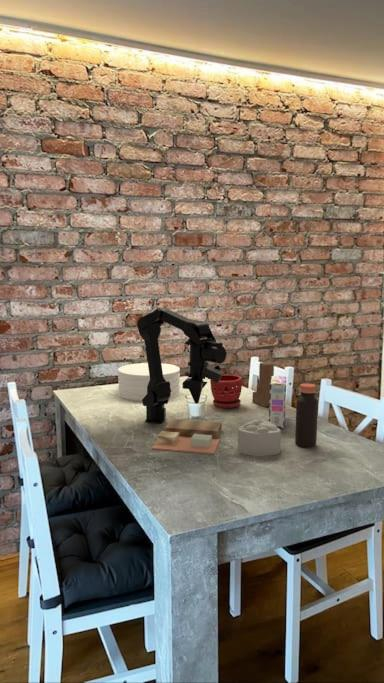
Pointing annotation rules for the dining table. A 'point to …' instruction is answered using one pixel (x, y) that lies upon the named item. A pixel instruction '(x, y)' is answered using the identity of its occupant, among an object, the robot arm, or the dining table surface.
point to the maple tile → (168, 438)
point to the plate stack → (145, 380)
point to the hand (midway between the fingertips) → (196, 403)
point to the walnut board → (194, 428)
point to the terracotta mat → (187, 446)
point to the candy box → (277, 401)
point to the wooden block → (264, 384)
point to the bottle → (306, 417)
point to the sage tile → (201, 440)
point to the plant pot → (227, 391)
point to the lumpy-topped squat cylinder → (259, 438)
